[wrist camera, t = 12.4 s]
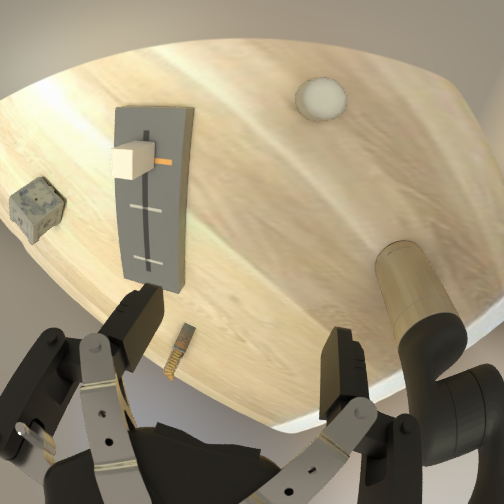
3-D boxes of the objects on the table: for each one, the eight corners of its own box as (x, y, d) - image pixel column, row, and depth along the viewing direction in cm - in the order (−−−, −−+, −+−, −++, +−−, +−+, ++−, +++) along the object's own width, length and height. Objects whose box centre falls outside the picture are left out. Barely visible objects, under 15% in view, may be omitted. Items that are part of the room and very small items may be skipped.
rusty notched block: (185, 352, 64) (172, 382, 56) (174, 346, 64) (160, 376, 56) (198, 327, 58) (183, 361, 50) (185, 321, 58) (169, 354, 50)
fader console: (184, 284, 52) (178, 294, 49) (131, 269, 53) (124, 278, 50) (194, 107, 35) (186, 108, 33) (126, 106, 36) (115, 107, 33)
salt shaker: (287, 101, 33) (279, 99, 22) (314, 72, 30) (320, 56, 19) (319, 129, 34) (329, 140, 23) (347, 101, 31) (369, 99, 20)
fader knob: (153, 168, 37) (132, 179, 32) (134, 165, 38) (111, 177, 32) (155, 141, 35) (132, 150, 30) (134, 140, 35) (111, 148, 30)
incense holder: (36, 200, 49) (5, 219, 40) (43, 173, 45) (9, 191, 36) (60, 226, 51) (30, 249, 42) (68, 200, 47) (34, 221, 38)
